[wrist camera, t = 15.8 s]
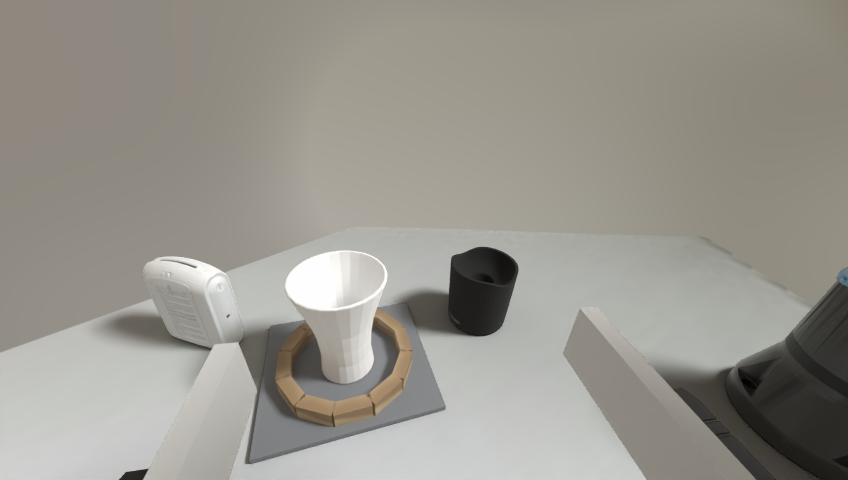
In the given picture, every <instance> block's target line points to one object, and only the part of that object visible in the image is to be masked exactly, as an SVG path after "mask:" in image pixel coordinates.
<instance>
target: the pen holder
mask: <svg viewBox="0 0 848 480" xmlns="http://www.w3.org/2000/svg"><path fill="white" fill-rule="evenodd" d="M517 275H518V265H517V263H516V262H515V260H514V259H513V258H512V257H510V256H509V255H507V254H506V253H504V252H502V251H499V250H497V249H493V248H489V247H477V248H474V249H471V250H469V251H467V252H464V253H462V254H457V255H454V256H452V258H451V271H450V287H449V306H448V312H449V317H450V319H451V321H452V322H453V323H454V324H455V326H457V327H458V328H459V329H461V330H462V331H464V332H466V333H469V334H473V335H488V334H491V333H493V332H496V331H497V330H498V329H500V327H501V326H502V324H503V322H504V319H505V316H506V312H507V309H508V306H509V302H510V299H511V296H512V292H513V289H514V285H515V282H516V278H517Z"/></svg>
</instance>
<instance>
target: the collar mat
mask: <svg viewBox="0 0 848 480" xmlns="http://www.w3.org/2000/svg"><path fill="white" fill-rule="evenodd" d="M377 310H382V311H383V312H386V313H387V314H389V315H390V316H391V317H393V318H394V319H395V320H397V321H398V322H399V323H401V324H402V325H403V326H404V327H405V329H406V332H407V335H408V338H409V341H410V344H411V347H412V350H413V351H412V352H413V353H412V364H411V367H410V371H409V374H408V377H407V380H406V383H405V387H404V390H403V389H402V392H401V393H400V394H399V395H398V396H397V397H396V398H395V399H394V400H392V401H391V402H390V403H389V404H388V405H387V406H386V407H385V408H384V409H382V410H381V411H380V412H379V413H378V414H377V415H375V414H374V413H373V417H371V418H367V419H364V420H360V421H356V422H353V423H349V424H345V425H341V426H338V427H335V423H334V425H333V427H330V426H326V425H323V424H319V423H315V422H312V421H308V420H304V419H301V418H298V416H296V415H295V414H294V413H293V411H292V410H291V409H290V407H289V406H288V404H287V403H286V402H285V400H284V399H283V397H282V396H281V395H280V393H279V391H278V388H277V384H276V381H275V377H276V368H277V359H278V352H279V349H280V348H281V347H282V346H283V344H284V343H285V342H286V341H287V339H288V338H289V337H290V336H291V334H292V333H293V332H294V331H295V329H296V328H297V327H299V325H301V324H303V323H305V322H306V321H305V320H302V321H297V322H291V323H285V324H279V325H273V326H270V331H269V337H268V344H267V350H266V356H265V363H264V369H263V375H262V382H261V388H260V395H259V401H258V407H257V414H256V420H255V426H254V433H253V439H252V445H251V452H250V458H249V462H250V464H252V463H256V462H259V461H263V460H267V459H270V458H274V457H277V456H281V455H284V454H288V453H292V452H295V451H299V450H302V449H306V448H309V447H313V446H317V445H320V444H324V443H327V442H331V441H334V440H338V439H342V438H345V437H349V436H352V435H356V434H359V433H363V432H367V431H370V430H374V429H377V428H381V427H384V426H388V425H392V424H395V423H399V422H402V421H406V420H409V419H413V418H417V417H420V416H424V415H427V414H431V413H434V412H438V411H442V410H445V407H446V406H445V404H444V401H443V398H442V396H441V393H440V390H439V388H438V385H437V383H436V380H435V377H434V375H433V372H432V369H431V367H430V364H429V362H428V359H427V356H426V354H425V351H424V348H423V346H422V343H421V341H420V338H419V335H418V333H417V330H416V327H415V325H414V322H413V320H412V317H411V314H410V312H409V309H408V306H407V304H406V303H402V304H396V305H390V306H384V307H378V308H377ZM371 346H372V351H373V355H374V362H373V365H372V368H371V370H370V371H369V372H368V373H367V374H366V375H365V376H364V377H363V378H361V379H359V380H357V381H355V382H352V383H348V384H339V383H334V382H332V381H330V380H328V379H327V378H326V377H325V376H324V374H323V372H322V364H321V352H320V349H319V346H318V342H317V339H316V337H315V338H313V339H311V340H310V341H308V343H307V344H306V346H305V347H304V348H303V350H302V351H301V353H300V354H299V355H298V357H297V358H296V360H295V361H294V370H293V379H294V381H295V382H296V383H297V384H298V386H299V387H300V388H301V389H302V391H303V392H304V393H305V394H306V395H310V396H314V397H318V398H322V399H326V400H330V401H334V402H336V401H341V400H345V399H349V398H353V397H357V396H361V395H365V394H368V393H370V392H371V391H372V390H373V389H374V388H376V387H377V386H378V385H379V384H380V383H382V382H383V381H384V380H385V379H386V378H388V377H389V376H390V375H391V374H392V372H393V370H394V367H395V364H396V362H397V359H398V356H399V355H398V351H397V348H396V344H395V341H394V340H393V339H391V338H390V337H389V336H388V335H386V334H385V333H384V332H383V331H382V330H380V329H379V328H377V327H372V330H371Z"/></svg>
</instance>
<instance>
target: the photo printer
mask: <svg viewBox="0 0 848 480" xmlns="http://www.w3.org/2000/svg"><path fill="white" fill-rule="evenodd" d="M142 277H143V280H144V283H145V285H146V287H147V289H148V291H149V293H150V295H151V297H152V299H153V301H154V303H155V305H156V307H157V309H158V311H159V313H160V316H161V318H162V320H163V322H164V324H165V326H166V328H167V330H168V332H169V333H170V334H171V335H172V336H174V337H176V338H179V339H182V340H185V341H188V342H191V343H195V344H198V345H202V346H205V347H208V348H213V346H214V345H215V344H225V343H235V342H238V343H239V342H240V341H241V340H242V338H243V333H244V332H245V329H244V325H243V321H242V318H241V315H240V312H239V309H238V306H237V302H236V299H235V296H234V293H233V290H232V287H231V284H230V281H229V278H228V276H227V275H226V274H225V273H223V272H222V271H220V270H219V269H217V268H215V267H213V266H211V265H208V264H206V263H203V262H200V261H197V260H193V259H189V258H183V257H161V258H156V259H155V260H154V261H152V262H148V263H147V264H146V265H145V267H144V269H143V273H142Z"/></svg>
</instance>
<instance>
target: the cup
mask: <svg viewBox="0 0 848 480" xmlns="http://www.w3.org/2000/svg"><path fill="white" fill-rule="evenodd" d="M386 281H387V271H386V269H385V266H384V265H383V264H382V263H381V262H380V261H379V260H378V259H376V258H375V257H373V256H371V255H369V254H365V253H362V252H357V251H334V252H327V253H323V254H320V255H316V256H314V257H311V258H309V259H307V260H305V261H303V262H302V263H300V264H299V265H297V266H296V267H295V268H294V269H293V270H292V271H291V272H290V273H289V275H288V277H287V279H286V281H285V292H286V294H287V296H288V298H289V299H290V301H291V302H292V303H293V305H294V306H295V307H296V309H297V310H298V311H299V312H300V314H301V315H302V317H303V318H304V320H305V321H306V322H307V324H308V325H309V327H310V328H311V329H312V331H313V333H314V335H315V337H316V339H317V342H318V346H319V349H320V352H321V364H322V372H323V374H324V376H325V377H326V378H327V379H328V380H330V381H332V382H334V383H339V384H348V383H352V382H355V381H357V380H359V379H361V378H363V377H364V376H365V375H366V374H367V373H368V372H369V371H370V370H371V368H372V365H373V362H374V355H373V351H372V346H371V330H372V324H373V318H374V315H375V312H376V309H377V306H378V303H379V300H380V298H381V295H382V292H383V289H384V287H385V284H386Z"/></svg>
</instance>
